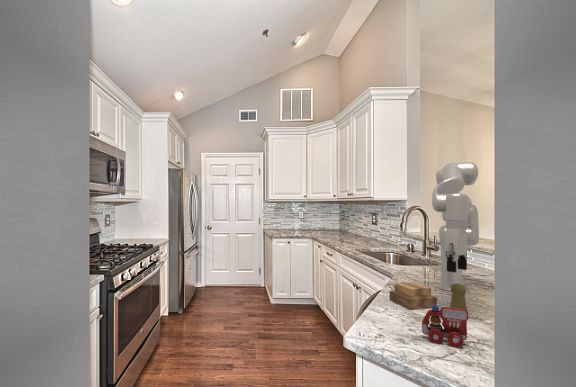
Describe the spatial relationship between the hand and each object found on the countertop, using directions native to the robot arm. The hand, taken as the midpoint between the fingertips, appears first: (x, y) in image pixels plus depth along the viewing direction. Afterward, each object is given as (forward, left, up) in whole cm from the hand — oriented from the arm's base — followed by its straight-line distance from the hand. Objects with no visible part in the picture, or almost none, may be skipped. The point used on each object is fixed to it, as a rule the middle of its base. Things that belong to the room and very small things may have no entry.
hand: (457, 270), depth 118 cm
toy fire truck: (+24, +19, -17) cm, 34 cm away
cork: (-1, 0, -16) cm, 16 cm away
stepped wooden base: (+9, -14, -16) cm, 23 cm away
